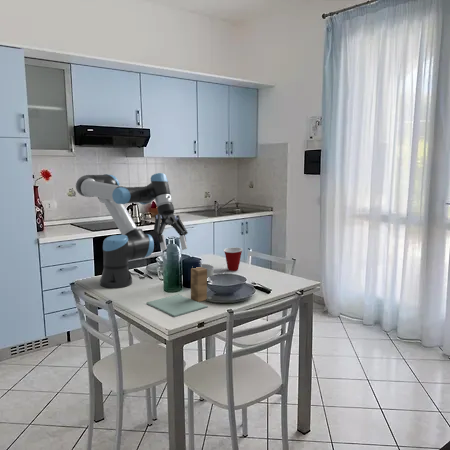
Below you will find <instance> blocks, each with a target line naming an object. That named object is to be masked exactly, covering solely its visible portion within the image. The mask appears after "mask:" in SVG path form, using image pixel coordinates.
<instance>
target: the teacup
mask: <svg viewBox="0 0 450 450" xmlns="http://www.w3.org/2000/svg"><path fill="white" fill-rule="evenodd" d="M200 264H201V265H202V268H206V269H207V278H208V277H210V276H212V275H213V276H214V272H215V271H214V269H215V267H214V265H212V264H211V265H210V264H206V263H200Z"/></svg>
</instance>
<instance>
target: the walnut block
mask: <svg viewBox="0 0 450 450" xmlns="http://www.w3.org/2000/svg"><path fill="white" fill-rule="evenodd" d="M207 291H208V282H207V269H206V268H202V267H196V268H193V267H192V268H190V299H192V300H194V301H197V302H199V303H201V302H204V301H207V300H206V299H208V292H207Z"/></svg>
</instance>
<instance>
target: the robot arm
mask: <svg viewBox="0 0 450 450" xmlns="http://www.w3.org/2000/svg"><path fill="white" fill-rule="evenodd" d="M75 190H76V191H77V193H78V194H79V195H80V196H82V197H84V198H85V197H86V198H92V197H96V198H97V200H98V201H99V202H100V203H103V204H104V205H105V207H106V209H107V211H108V213H109V214H110V216H111V219H112V220H113V222H114V223H115V225H116V227H117V228H118V230H119V232H120V234H118V235H117V234H116V235H110V236H107V237H106V238H104V240H103V241H102V242H103V243H102V252H103V257H102V258H103V270H102V274H101V277H100V279H99V280H100V281H99V285H100V286H101V287H103V288H108V289H109V288H110V289H117V288H119V289H120V288H125V287H128V286H130V285H132V284H133V277H132V275H131V271H130V269H129V261H132V260H138V259H144V258H148V257H149V256H151V255H152V253H153V252H154V248H155V243H154V242H155V241H154V238H153V236H154V237H155V238H157V240H158V243H159V246H160V249H161V251H165V250H167V248H168V247H167V243H166V239H165V234H163V233H164V230H165V227H166V226H171V227H172V228H173V229H174V230H175V231H176V232H177V234H178V235H179V242H180V246H181V250H182V251H184V250H187V249H188V245H187V237H186V235H187V234H188V233H189V232H188V231H187V228H186V227H185V226H184V224H183V222H182V220H181V218H180V215H175V207H174V204H173V200H172V196H171V195H172V194H171V190H170V186H169V181H168V177H167V175H166V174H165V173H163V172H157V173H154V174H152V175H151V176H150V183H149V184H147V185H145V186H127V187H126V186H122V185H120V181H119V180H118V177H116V176H115V175H113V174H86V175H82V176H81V177H79V178H78V179H77V181H76V183H75ZM153 201H154V202H155V205H156V207H157V208H156V209H157V213H158V214H156V215H154V220H155V221H154V227H153V232H152V234H153V235H151V234H150V233H149V234H148V233H144V230H143V229H142V228H139V227H137V224H136V223H135V221H134V219H133V217H132V216H131V214H130V213H129V211H128V210H127V208H126V206H125V204H137V203H138V204H141V205H144V206H145V205H147V204H151V203H152V202H153Z"/></svg>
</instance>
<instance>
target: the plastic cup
mask: <svg viewBox="0 0 450 450" xmlns="http://www.w3.org/2000/svg"><path fill="white" fill-rule="evenodd" d="M223 252H224V255H225V261H226V265H227V266H226V267H227V270H228V271H229V272H236V271H239V268H240V267H239V266H240V263H241V256H242V252H243V248H242V247H234V246H233V247H226V248H224V249H223Z"/></svg>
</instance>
